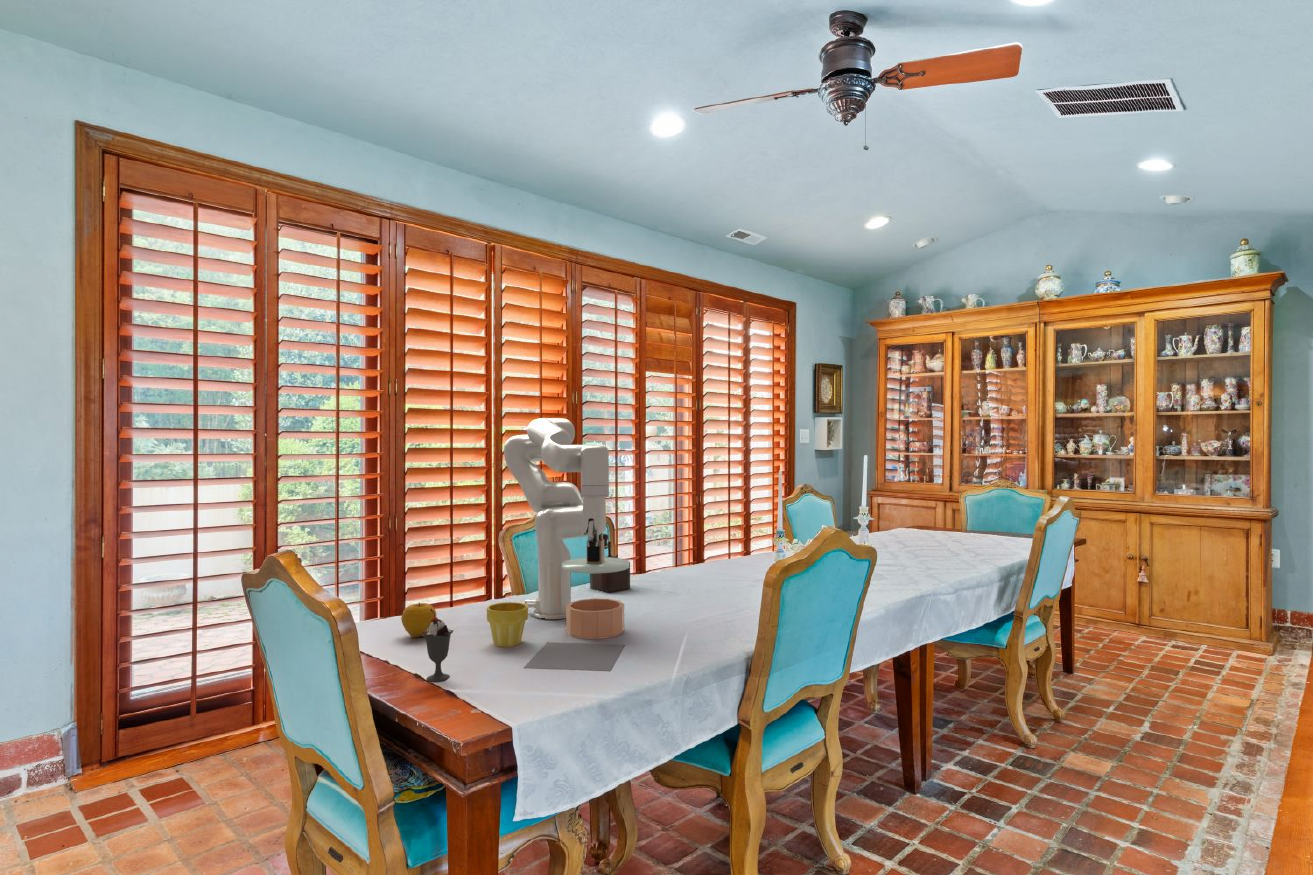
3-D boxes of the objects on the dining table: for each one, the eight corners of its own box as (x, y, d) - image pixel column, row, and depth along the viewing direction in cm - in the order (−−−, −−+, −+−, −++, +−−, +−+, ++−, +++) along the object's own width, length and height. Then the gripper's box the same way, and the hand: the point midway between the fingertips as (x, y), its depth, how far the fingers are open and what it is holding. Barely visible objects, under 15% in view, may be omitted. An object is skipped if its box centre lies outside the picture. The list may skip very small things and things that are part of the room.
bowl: (561, 639, 185) (561, 610, 185) (574, 624, 200) (574, 597, 200) (618, 641, 184) (618, 612, 184) (627, 626, 198) (627, 599, 198)
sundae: (425, 673, 159) (425, 606, 159) (456, 672, 160) (456, 605, 160) (418, 683, 153) (418, 613, 153) (450, 682, 153) (450, 612, 153)
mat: (523, 670, 161) (523, 667, 161) (547, 644, 181) (547, 642, 181) (610, 673, 159) (610, 670, 159) (625, 646, 179) (625, 644, 179)
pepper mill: (632, 588, 248) (632, 536, 248) (607, 593, 240) (607, 539, 240) (604, 581, 259) (604, 532, 259) (580, 586, 251) (579, 535, 251)
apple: (425, 641, 184) (425, 607, 184) (394, 640, 186) (393, 605, 186) (442, 632, 193) (442, 599, 193) (412, 630, 195) (412, 597, 195)
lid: (554, 572, 184) (554, 544, 184) (570, 560, 202) (570, 535, 202) (623, 574, 182) (623, 545, 182) (633, 561, 200) (633, 536, 200)
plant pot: (535, 640, 185) (535, 603, 185) (515, 652, 175) (515, 612, 175) (500, 637, 188) (500, 600, 188) (478, 648, 178) (478, 609, 178)
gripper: (587, 489, 201) (588, 554, 201) (573, 494, 184) (574, 565, 184) (614, 489, 200) (614, 555, 200) (602, 494, 183) (603, 565, 183)
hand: (595, 559), depth 192 cm, fingers closed on lid, 4 cm apart
